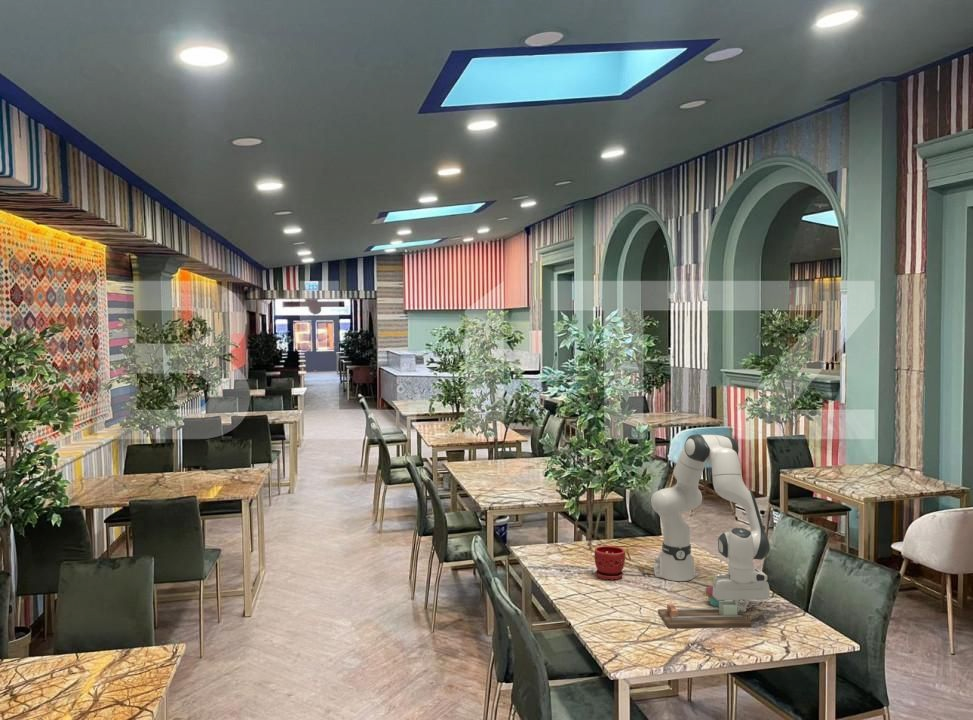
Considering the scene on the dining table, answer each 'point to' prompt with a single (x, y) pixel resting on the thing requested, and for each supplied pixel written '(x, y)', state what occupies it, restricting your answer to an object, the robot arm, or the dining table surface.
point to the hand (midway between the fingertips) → (740, 611)
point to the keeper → (727, 608)
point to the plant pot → (609, 562)
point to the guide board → (701, 618)
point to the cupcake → (710, 595)
